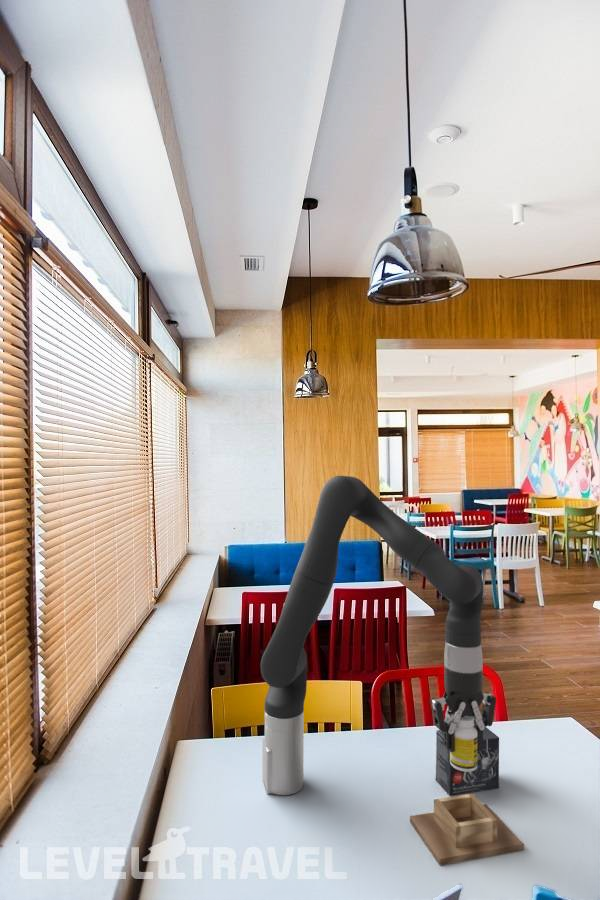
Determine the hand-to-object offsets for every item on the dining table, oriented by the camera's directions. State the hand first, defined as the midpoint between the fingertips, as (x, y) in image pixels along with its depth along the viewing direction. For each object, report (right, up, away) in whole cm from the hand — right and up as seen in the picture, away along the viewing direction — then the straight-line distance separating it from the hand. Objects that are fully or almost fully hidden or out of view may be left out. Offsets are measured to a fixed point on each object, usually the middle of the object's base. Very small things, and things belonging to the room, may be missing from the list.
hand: (463, 748), depth 113 cm
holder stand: (0, -17, -1) cm, 17 cm away
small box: (+6, -18, +17) cm, 26 cm away
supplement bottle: (0, -4, 0) cm, 4 cm away
